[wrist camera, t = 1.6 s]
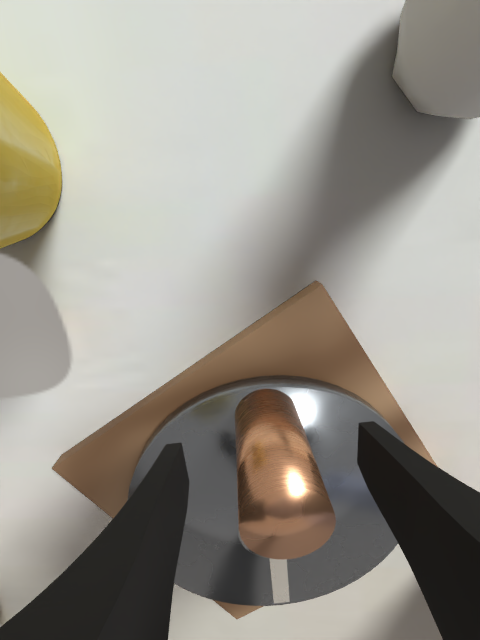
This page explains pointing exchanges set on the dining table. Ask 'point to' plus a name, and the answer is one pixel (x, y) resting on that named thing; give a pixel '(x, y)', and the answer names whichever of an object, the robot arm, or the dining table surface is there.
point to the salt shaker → (440, 57)
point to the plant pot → (25, 168)
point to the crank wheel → (273, 490)
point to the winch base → (227, 366)
